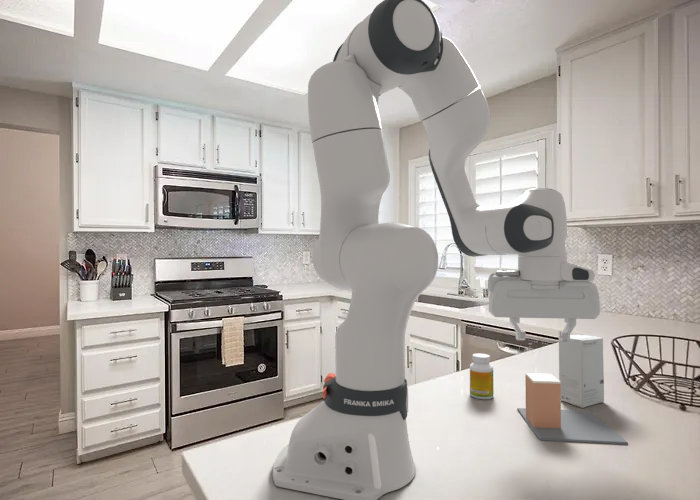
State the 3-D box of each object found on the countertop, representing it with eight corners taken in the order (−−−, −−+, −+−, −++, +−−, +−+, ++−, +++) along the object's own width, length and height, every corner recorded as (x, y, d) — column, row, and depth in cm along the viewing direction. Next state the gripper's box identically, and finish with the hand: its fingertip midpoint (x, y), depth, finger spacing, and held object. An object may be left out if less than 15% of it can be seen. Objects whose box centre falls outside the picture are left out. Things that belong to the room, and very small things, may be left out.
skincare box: (582, 409, 88) (582, 340, 88) (557, 400, 94) (557, 335, 94) (605, 402, 92) (605, 336, 92) (579, 393, 97) (579, 332, 97)
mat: (539, 440, 74) (539, 437, 74) (517, 410, 88) (517, 408, 88) (627, 444, 72) (627, 442, 72) (590, 412, 86) (590, 411, 86)
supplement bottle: (495, 400, 93) (494, 358, 93) (470, 399, 94) (470, 357, 94) (491, 392, 99) (491, 352, 99) (468, 391, 100) (468, 352, 100)
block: (533, 427, 78) (533, 380, 78) (525, 416, 83) (525, 373, 83) (560, 428, 78) (560, 381, 78) (551, 417, 83) (550, 373, 83)
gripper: (491, 271, 79) (491, 342, 79) (603, 272, 76) (604, 345, 76) (484, 270, 85) (485, 335, 85) (588, 270, 82) (588, 338, 82)
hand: (542, 340), depth 80 cm, fingers open, 7 cm apart
